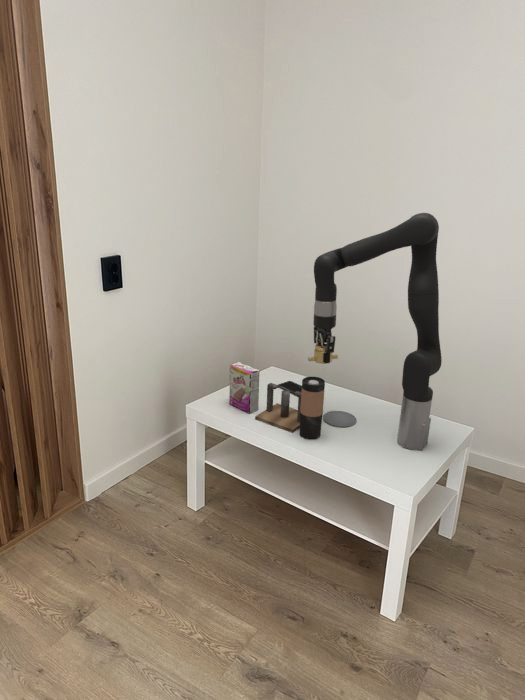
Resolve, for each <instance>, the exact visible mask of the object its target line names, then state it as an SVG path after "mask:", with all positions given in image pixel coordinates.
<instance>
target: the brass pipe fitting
mask: <svg viewBox="0 0 525 700" xmlns="http://www.w3.org/2000/svg"><path fill="white" fill-rule="evenodd" d="M331 348H332V347H331ZM313 351H314V352H313V353H314V354H313V356H309V357H307V361H308V362H315V363H317V364H322V365H324V364H326V365H327V364H328V363H324V362H323V358H324V350H323V347H322V345H321V344H318V345H316V344H315V345H314V350H313ZM338 359H339V355H338V354H333V353H330V363H332V362H333V360H338Z"/></svg>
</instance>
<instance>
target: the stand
mask: <svg viewBox="0 0 525 700" xmlns="http://www.w3.org/2000/svg"><path fill="white" fill-rule="evenodd" d="M266 389H267V391H266V409H265V410H263V411H262V412H260V413H258V414H256V415H255V417H254V419H255V420H256V421H259V422H261V423H263V424H264V423H265V424H267V425H270V426H271V427H275V428H279V429H281V430H284V431H286V432H289V433H295V432H296V431H298V430H300V406H301V393H302V392H299V391H296V392H295V393H294V395H293V396H294V397H297V398H298V401H297V409H295V408H293V407H290V403H291V401H290V400H291V393H290V391H287V390H281V395H280V396H281V397H280V399H281V400H280V403H274V390H276V389H279V388H278V384H276V383H273V382H269V383H267V386H266Z"/></svg>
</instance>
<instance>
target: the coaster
mask: <svg viewBox="0 0 525 700" xmlns="http://www.w3.org/2000/svg"><path fill="white" fill-rule="evenodd" d="M322 421H323V423H325V424H327V425H328V426H331V427H335V428H343V429H344V428H350V427H351V428H352V427H353V426H355V424H356V423H357V417H356V416H355V415H354V414H352V413H349V412H346V411H343V410H332V411H331V410H330V411H327V412H325V413H323V416H322Z"/></svg>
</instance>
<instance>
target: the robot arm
mask: <svg viewBox="0 0 525 700" xmlns="http://www.w3.org/2000/svg"><path fill="white" fill-rule="evenodd" d="M439 228H440V226H439V221H438V220H437V218H436V217H435V216H434V215H433V214H431V213H429V212H420V213H416V214H414V215H411V217H410V218H409V219H406V220H405V221H403V222H402V223H400V224H398V225H397V226H395V227H393V228H390V229H388V230H386V231H383V232H380V233H377V234H374V235H371V236H368V237H365V238H362V239H359V240H357V241H354V242H351V243H348V244H346V245H345V246H343V247H339V248H336V249H332V250H330V251H327V252H325V253H322V254H320V255H319V256H317V257H316V258H315V260H314V262H313V263H314V264H313V278H314V283H315V295H314V296H315V297H314V305H313V344H315V345H318V344H321V345H322V347H323V350H324V358H323V362H324V363H327V364H330V363H331V362H330V353H332V354H333V353H334V352H335V346H336V336H335V335H332V329H334V328H335V327H336V324H337V308H338V307H337V293H338V291H337V290H338V289H337V284H336V283H335V273H336V272H338V271H340V270H343V269H345V268H348V267H354V266H357V265H361V264H363V263H365V262H368V261H371V260H373V259H375V258H378V257H380V256H383V255H384V254H386V253H390V252H392V251H395V250H398V249H402V248H408V247H411V248H410V249H411V265H410V270H409V276H408V285H407V309H408V313H409V315H410V318H411V319H412V322H413V324H414V327H415V329H416V335H417V336H416V337H417V347H416V350H414V351H411V352H410V353H409V354H407V355H406V357H405V359H404V362H403V366H402V367H403V369H402V377H401V378H402V379H401V385H402V390H403V392H402V393H403V394H402V398H401V399H402V400H401V401H402V402H401V407H400V408H401V409H400V416H399V421H398V422H399V423H398V429H397V430H398V431H397V437H396V442H397V444H398V445H400V446H401V447H403V448H405V449H408V450H418V451H422V450H423V449H424V448H425V447H426V445H428V441H429V435H430V428H431V422H432V418H431V417H430V416H431V408H432V403H433V398H434V397H433V396H434V390H433V389H432V388H431V386H430V377H432V376H434V375H435V374H436V373H438V372H439V370H440V369H441V366H442V362H443V361H442V360H443V359H442V350H441V342H440V332H439V331H440V330H439V329H440V327H439V325H440V324H439V320H440V319H439V317H440V316H439V307H440V306H439V303H440V301H439V300H440V298H439V296H440V295H439V293H440V292H439V276H438V265H437V250H438V247H437V246H438V238H439V231H440V229H439ZM331 347H332V348H331Z"/></svg>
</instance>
